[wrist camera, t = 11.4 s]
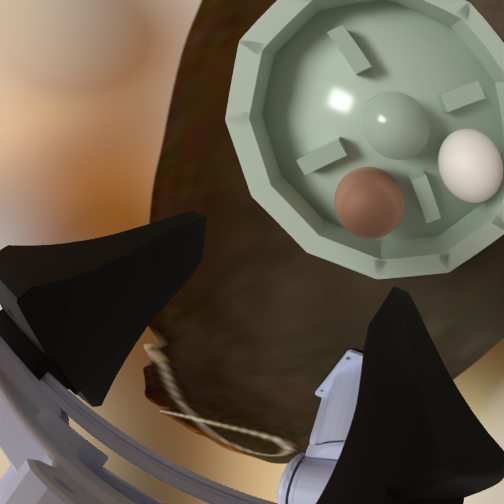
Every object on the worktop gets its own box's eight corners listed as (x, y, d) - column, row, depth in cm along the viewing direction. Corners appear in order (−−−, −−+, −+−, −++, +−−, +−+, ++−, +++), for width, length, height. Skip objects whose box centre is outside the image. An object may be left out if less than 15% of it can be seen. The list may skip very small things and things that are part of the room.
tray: (448, 284, 18) (455, 311, 15) (230, 201, 21) (211, 217, 19) (535, 68, 7) (558, 68, 5) (276, -34, 10) (260, -52, 8)
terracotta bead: (409, 175, 15) (421, 198, 11) (384, 229, 17) (388, 263, 14) (348, 150, 15) (346, 165, 12) (328, 207, 18) (320, 235, 14)
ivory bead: (422, 170, 14) (435, 196, 11) (443, 111, 12) (464, 122, 9) (473, 196, 13) (493, 227, 10) (496, 141, 11) (524, 162, 8)
